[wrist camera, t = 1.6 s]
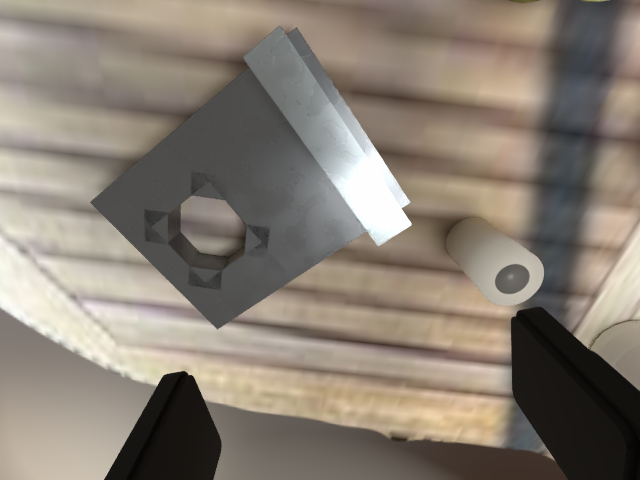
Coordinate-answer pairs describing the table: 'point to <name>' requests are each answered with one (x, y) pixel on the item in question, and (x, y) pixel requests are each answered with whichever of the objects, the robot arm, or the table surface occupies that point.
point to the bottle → (621, 349)
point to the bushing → (494, 262)
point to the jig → (259, 182)
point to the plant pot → (538, 0)
